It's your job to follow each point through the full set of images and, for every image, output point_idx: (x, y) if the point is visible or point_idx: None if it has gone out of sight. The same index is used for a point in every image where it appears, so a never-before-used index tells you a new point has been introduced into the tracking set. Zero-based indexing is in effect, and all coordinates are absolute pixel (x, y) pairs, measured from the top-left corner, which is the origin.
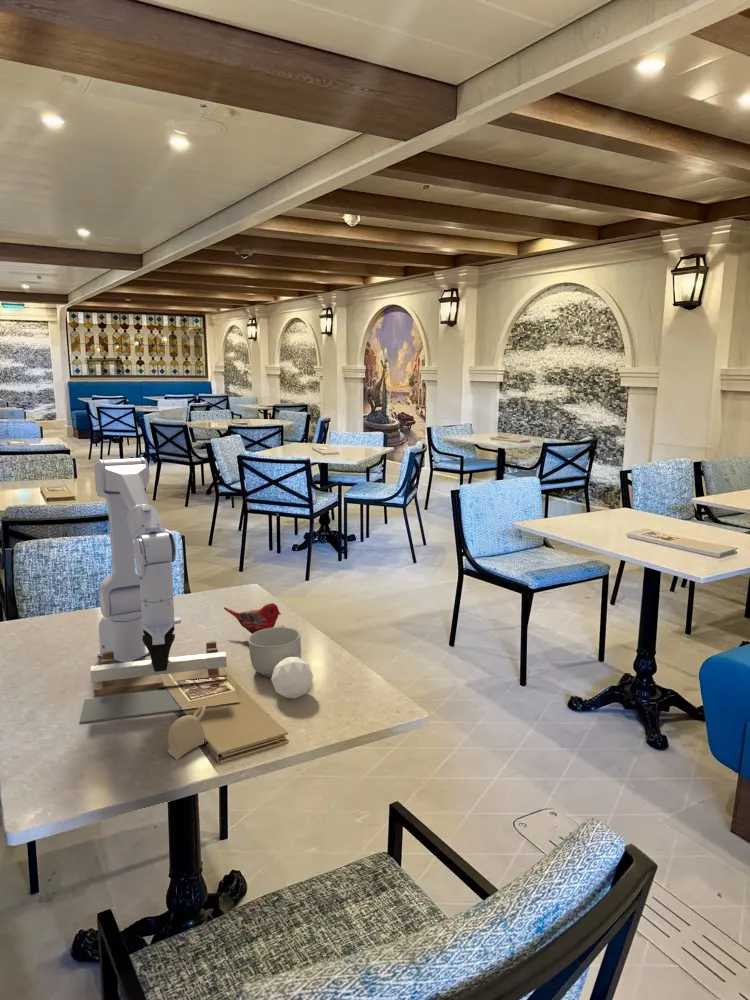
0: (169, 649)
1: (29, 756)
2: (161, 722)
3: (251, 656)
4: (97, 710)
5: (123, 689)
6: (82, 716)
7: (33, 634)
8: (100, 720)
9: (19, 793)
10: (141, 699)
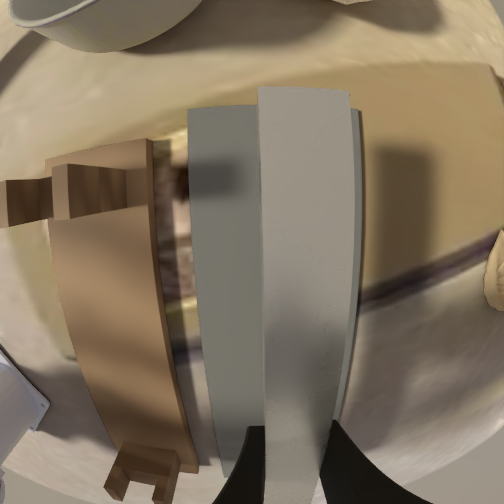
0: (403, 488)
1: (393, 480)
2: (396, 342)
3: (123, 26)
4: None
5: (188, 433)
6: None
7: (9, 459)
8: None
9: (462, 451)
10: (254, 402)
